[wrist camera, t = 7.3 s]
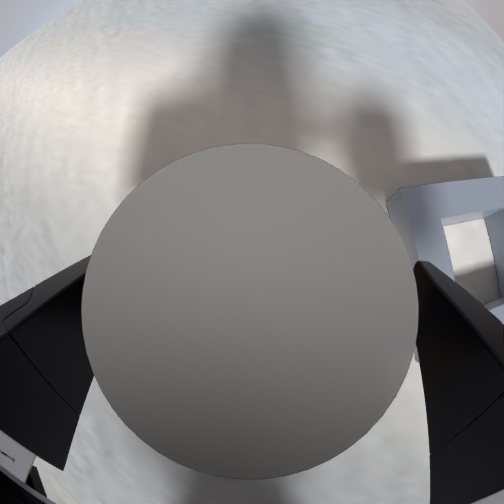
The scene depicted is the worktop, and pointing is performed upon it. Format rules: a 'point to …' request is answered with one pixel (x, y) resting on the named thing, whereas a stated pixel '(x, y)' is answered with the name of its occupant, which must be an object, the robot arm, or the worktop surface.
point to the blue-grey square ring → (450, 222)
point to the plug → (249, 311)
